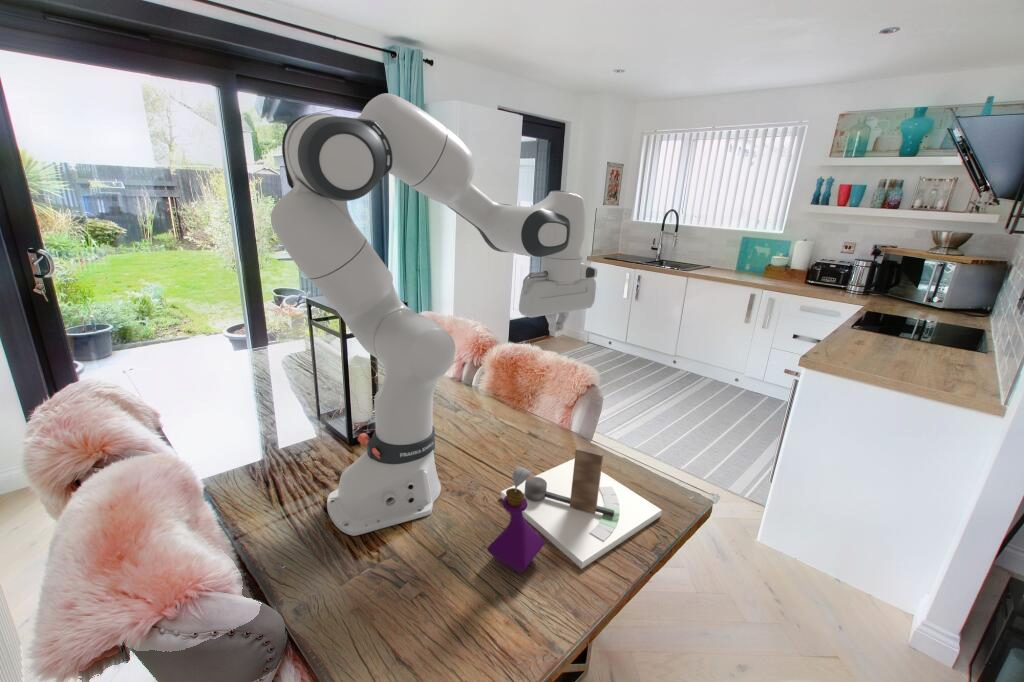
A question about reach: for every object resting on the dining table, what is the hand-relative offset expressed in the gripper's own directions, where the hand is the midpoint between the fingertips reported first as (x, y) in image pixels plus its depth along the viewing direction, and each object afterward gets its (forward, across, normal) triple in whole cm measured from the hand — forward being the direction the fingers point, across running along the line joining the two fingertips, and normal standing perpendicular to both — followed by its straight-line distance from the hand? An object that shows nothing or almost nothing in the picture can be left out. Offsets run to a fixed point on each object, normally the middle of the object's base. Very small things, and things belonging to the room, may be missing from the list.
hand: (555, 331), depth 102 cm
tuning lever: (+29, -11, -19) cm, 37 cm away
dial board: (+31, -8, -20) cm, 38 cm away
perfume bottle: (+31, -28, -23) cm, 48 cm away
